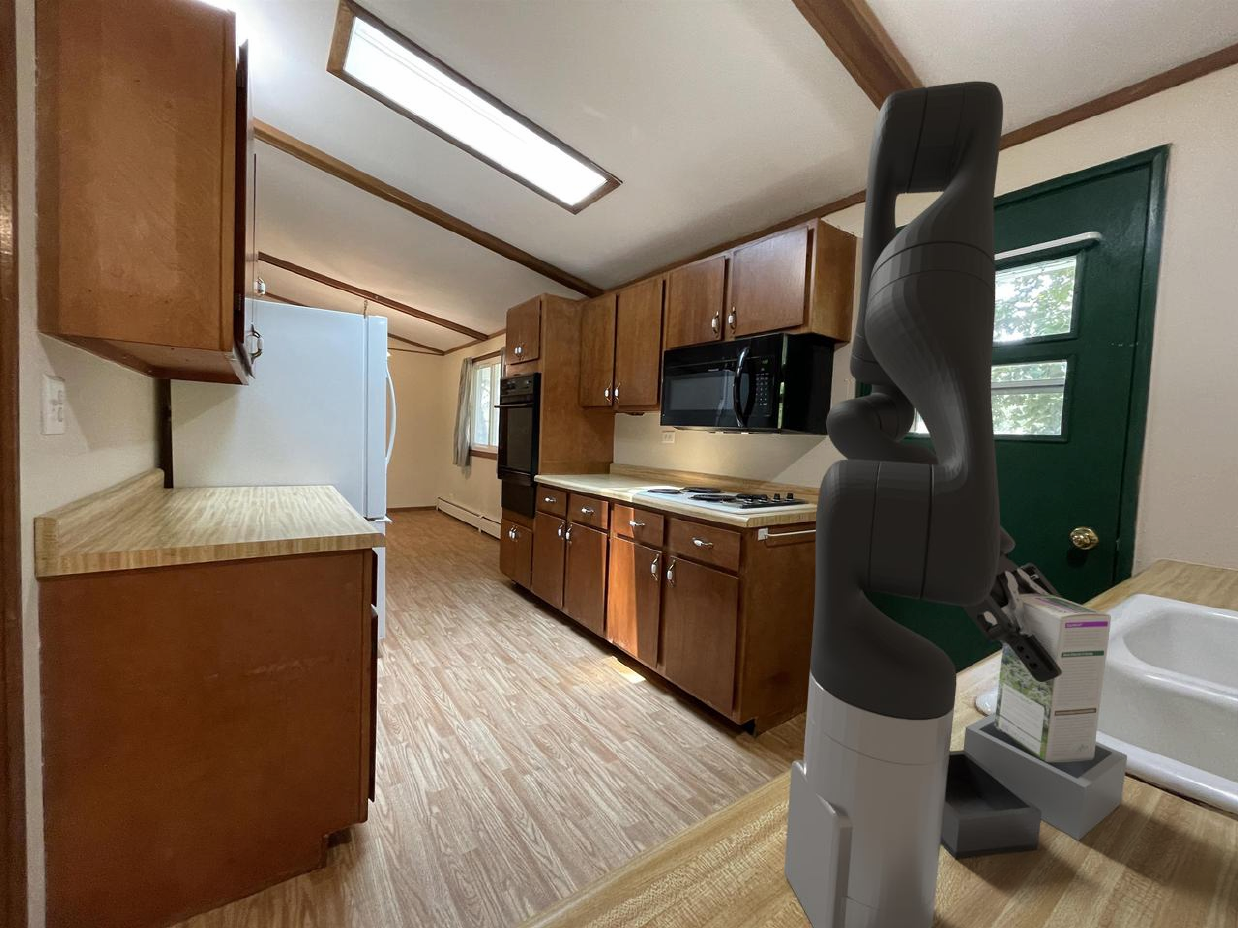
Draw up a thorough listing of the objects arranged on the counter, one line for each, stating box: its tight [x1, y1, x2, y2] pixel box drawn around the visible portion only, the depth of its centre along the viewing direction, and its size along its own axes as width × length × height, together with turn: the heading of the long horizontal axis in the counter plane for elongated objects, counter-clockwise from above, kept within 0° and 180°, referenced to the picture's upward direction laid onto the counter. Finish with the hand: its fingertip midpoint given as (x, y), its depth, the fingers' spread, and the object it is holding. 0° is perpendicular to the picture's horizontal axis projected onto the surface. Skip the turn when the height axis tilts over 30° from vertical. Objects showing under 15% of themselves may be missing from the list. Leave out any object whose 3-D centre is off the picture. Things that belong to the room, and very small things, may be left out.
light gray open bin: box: [962, 711, 1128, 841], centre depth 51 cm, size 10×10×5 cm
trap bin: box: [940, 749, 1042, 860], centre depth 46 cm, size 8×8×4 cm
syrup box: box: [994, 594, 1112, 762], centre depth 50 cm, size 6×6×14 cm
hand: (1069, 670), depth 48 cm, fingers closed on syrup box, 7 cm apart
